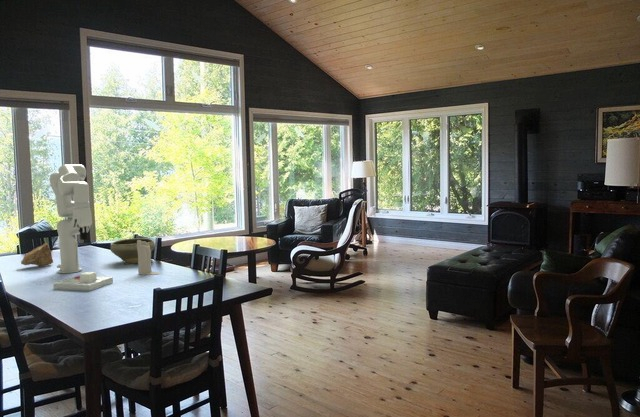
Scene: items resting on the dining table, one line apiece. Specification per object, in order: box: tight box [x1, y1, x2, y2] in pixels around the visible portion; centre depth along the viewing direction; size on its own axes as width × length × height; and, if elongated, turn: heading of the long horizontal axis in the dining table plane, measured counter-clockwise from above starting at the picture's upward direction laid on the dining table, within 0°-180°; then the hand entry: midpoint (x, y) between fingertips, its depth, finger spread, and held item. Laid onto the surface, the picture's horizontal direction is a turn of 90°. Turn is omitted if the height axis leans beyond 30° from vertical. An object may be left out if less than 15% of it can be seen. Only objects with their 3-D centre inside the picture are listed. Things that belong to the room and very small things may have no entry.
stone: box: [20, 242, 54, 267], centre depth 320 cm, size 18×10×15 cm, turn 122°
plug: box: [79, 271, 97, 282], centre depth 264 cm, size 6×5×7 cm
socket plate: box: [52, 274, 114, 292], centre depth 265 cm, size 22×18×4 cm
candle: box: [137, 240, 162, 276], centre depth 291 cm, size 7×14×20 cm, turn 78°
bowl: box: [110, 237, 156, 264], centre depth 330 cm, size 28×28×14 cm
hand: (83, 239), depth 271 cm, fingers closed
